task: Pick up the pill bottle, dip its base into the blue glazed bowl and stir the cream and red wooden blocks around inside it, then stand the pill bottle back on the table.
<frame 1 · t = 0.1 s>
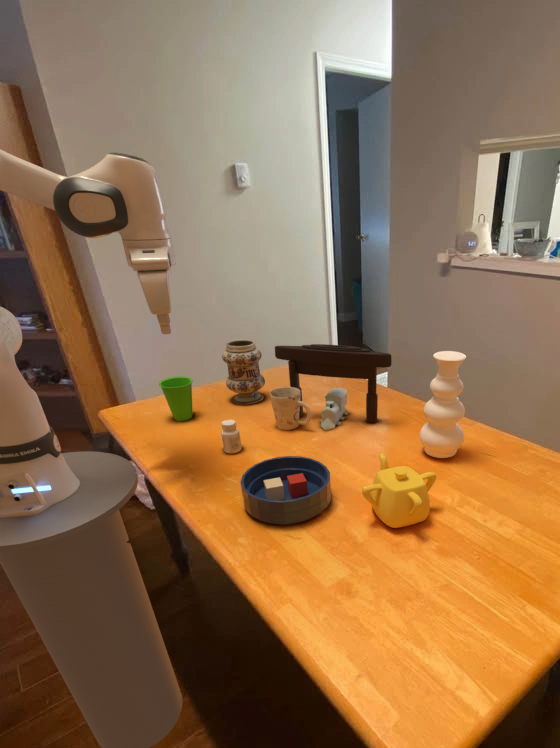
hand: (166, 328, 97), 32 cm above the table, tool pointing down, fingers open, 8 cm apart
stool: (333, 419, 134), on the table
red block: (297, 492, 99), point 1 cm above the table, touching bowl
pill bottle: (233, 450, 118), on the table
teapot: (397, 513, 94), on the table
bowl: (288, 501, 98), on the table
mug: (294, 427, 130), on the table
vase: (440, 453, 117), on the table
apothecary jar: (247, 399, 148), on the table
cup: (183, 418, 136), on the table
cream block: (274, 496, 98), point 1 cm above the table, touching bowl
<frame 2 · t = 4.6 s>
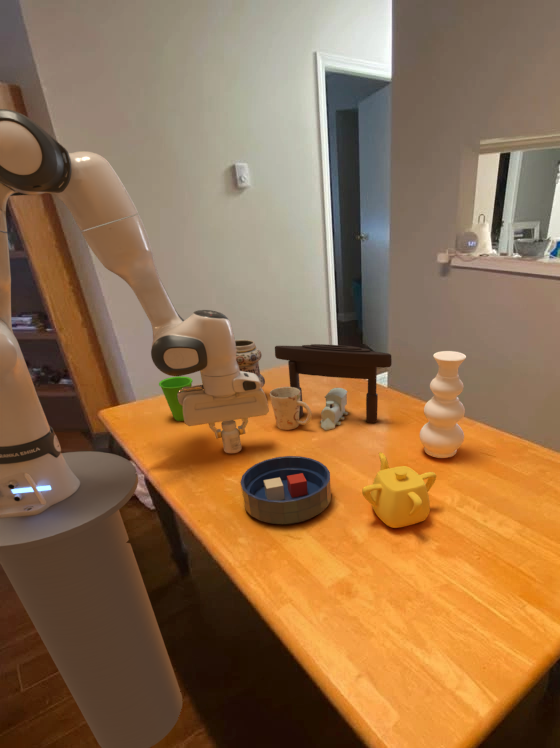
hand: (230, 435, 116), 4 cm above the table, tool pointing down, fingers closed on pill bottle, 4 cm apart
pill bottle: (233, 450, 118), on the table, touching gripper
everything else where it was.
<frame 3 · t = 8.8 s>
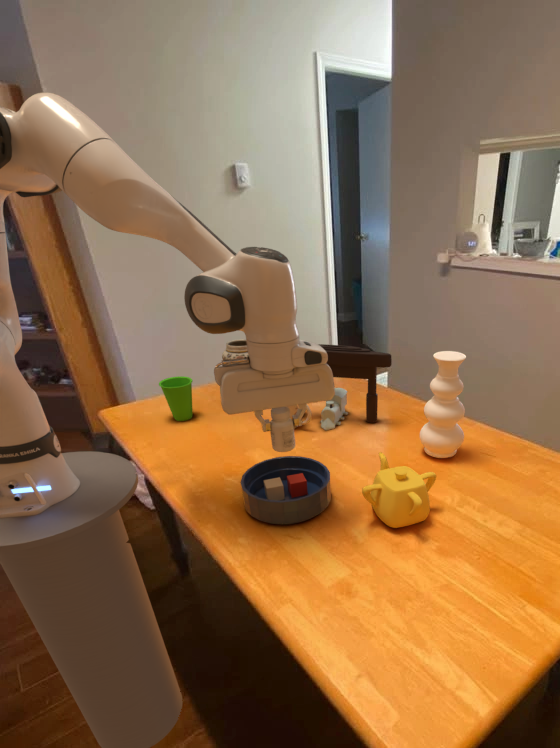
hand: (282, 427, 86), 19 cm above the table, tool pointing down, fingers closed on pill bottle, 4 cm apart
pill bottle: (284, 448, 88), point 14 cm above the table, touching gripper
everything else where it was.
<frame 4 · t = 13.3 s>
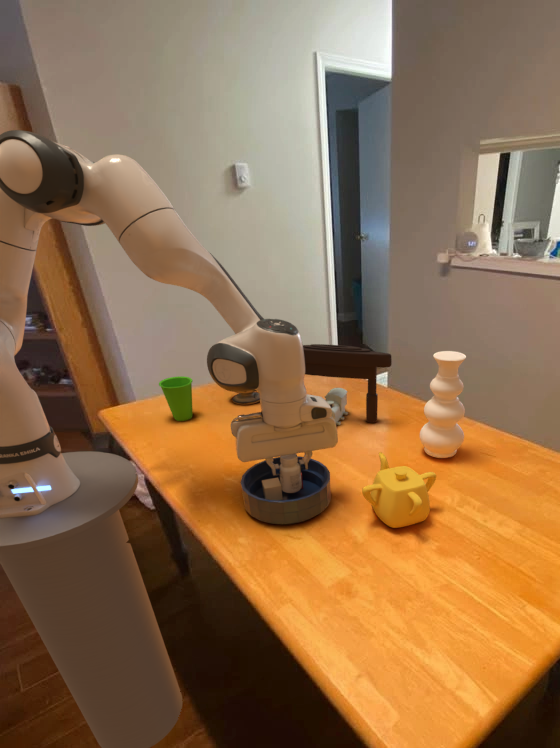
hand: (290, 471, 95), 7 cm above the table, tool pointing down, fingers closed on pill bottle, 4 cm apart
red block: (294, 485, 102), point 1 cm above the table, touching bowl
pill bottle: (291, 488, 97), point 3 cm above the table, touching gripper
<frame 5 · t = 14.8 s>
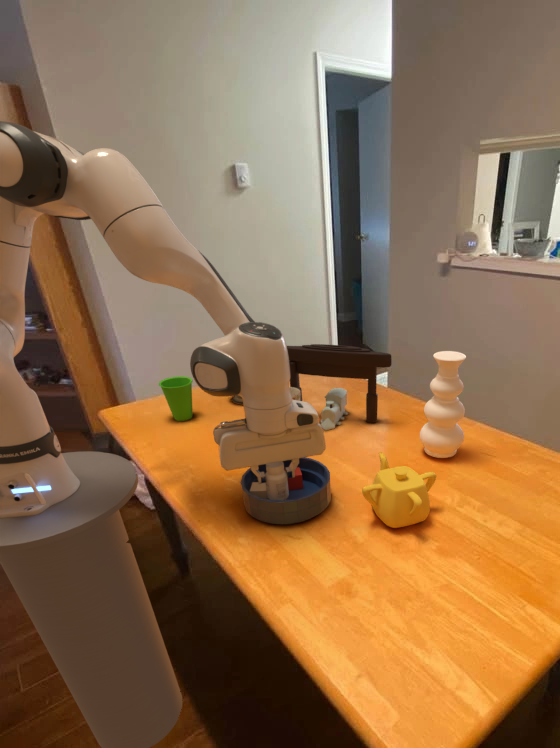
hand: (276, 479, 92), 7 cm above the table, tool pointing down, fingers closed on pill bottle, 4 cm apart
pill bottle: (278, 497, 94), point 3 cm above the table, touching cream block, gripper
cream block: (261, 500, 97), point 1 cm above the table, touching bowl, pill bottle
everything else where it was.
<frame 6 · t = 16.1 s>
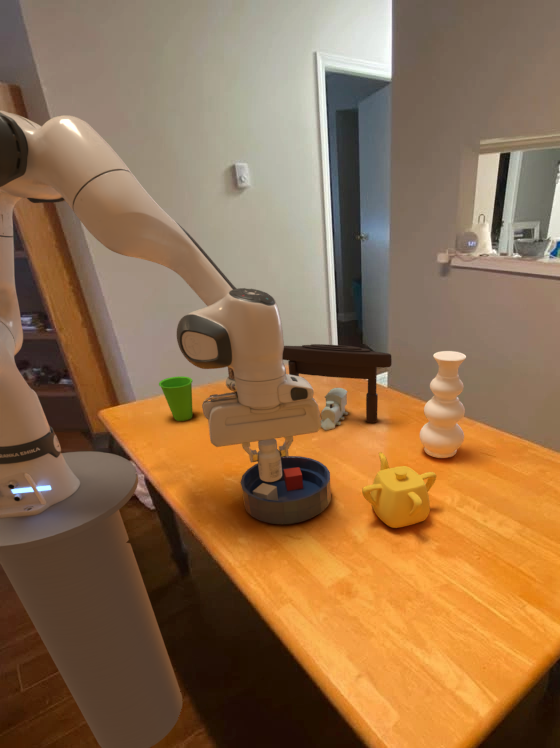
hand: (269, 458, 88), 13 cm above the table, tool pointing down, fingers closed on pill bottle, 4 cm apart
pill bottle: (271, 477, 90), point 8 cm above the table, touching gripper
cream block: (266, 502, 96), point 1 cm above the table, touching bowl
everything else where it was.
when the fingers open (4 cm above the table, at t = 22.9 s): pill bottle stays where it is, on the table.
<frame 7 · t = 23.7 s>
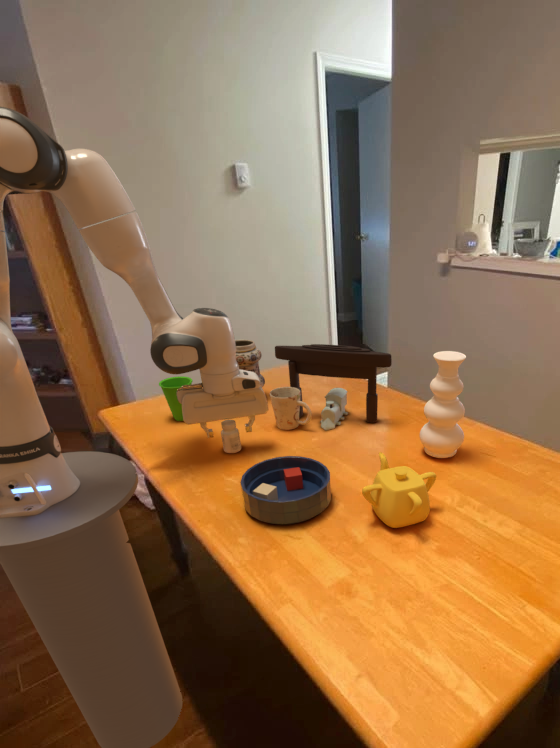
hand: (230, 434, 115), 5 cm above the table, tool pointing down, fingers open, 8 cm apart
pill bottle: (232, 450, 118), on the table
everything else where it was.
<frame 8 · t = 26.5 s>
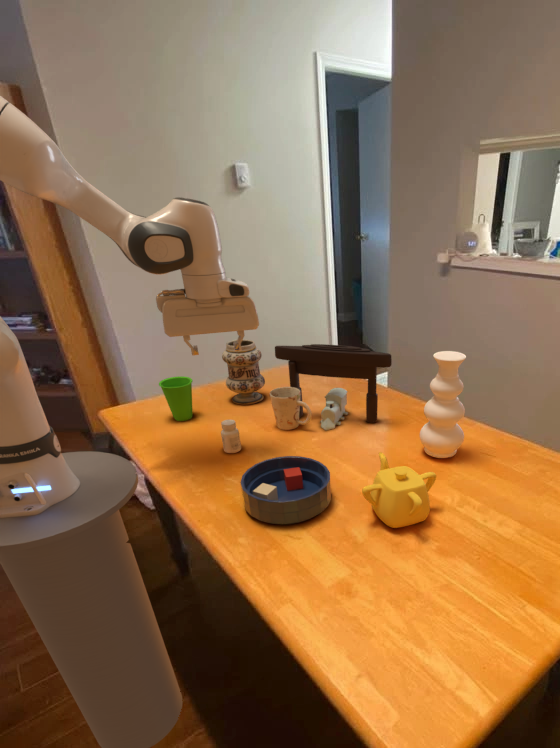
hand: (217, 352, 105), 25 cm above the table, tool pointing down, fingers open, 8 cm apart
nothing on the table moved.
at the end: red block moved 2.9 cm from its start; red block inside the target area in the bowl (5.0 cm from its centre), point 0.8 cm above the bowl's base; cream block inside the target area in the bowl (4.6 cm from its centre), point 0.8 cm above the bowl's base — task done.
